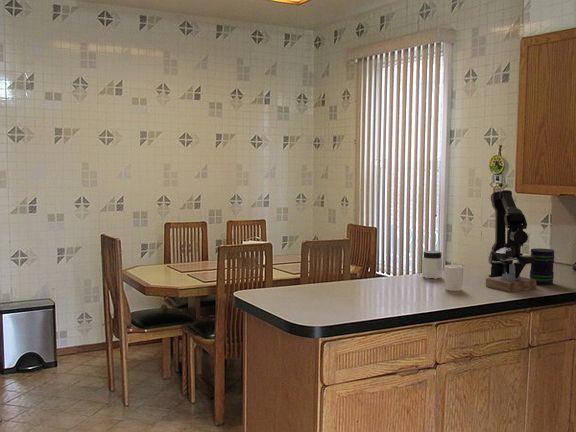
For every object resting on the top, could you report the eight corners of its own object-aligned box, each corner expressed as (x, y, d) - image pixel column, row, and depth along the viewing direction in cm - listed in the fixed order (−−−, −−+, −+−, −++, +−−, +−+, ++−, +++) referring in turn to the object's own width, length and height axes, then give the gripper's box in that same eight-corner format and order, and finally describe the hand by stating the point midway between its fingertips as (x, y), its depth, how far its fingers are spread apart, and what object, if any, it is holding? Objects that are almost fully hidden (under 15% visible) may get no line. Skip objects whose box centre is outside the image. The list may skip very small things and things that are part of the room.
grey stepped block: (512, 279, 272) (512, 263, 271) (519, 281, 268) (519, 265, 267) (502, 281, 269) (502, 264, 268) (509, 282, 265) (509, 266, 265)
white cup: (441, 290, 262) (442, 266, 261) (446, 287, 269) (446, 264, 268) (460, 292, 259) (461, 268, 258) (464, 288, 266) (465, 265, 265)
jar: (434, 279, 286) (434, 253, 285) (419, 277, 292) (419, 251, 291) (444, 277, 292) (445, 251, 291) (429, 275, 298) (430, 250, 297)
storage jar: (549, 281, 282) (550, 248, 281) (556, 285, 272) (557, 251, 271) (526, 281, 283) (527, 248, 282) (532, 285, 273) (534, 251, 272)
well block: (512, 283, 278) (512, 275, 278) (536, 288, 267) (536, 279, 266) (485, 286, 271) (485, 278, 270) (509, 292, 259) (509, 283, 259)
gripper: (483, 240, 272) (482, 275, 273) (517, 245, 255) (516, 282, 257) (502, 238, 277) (501, 273, 278) (536, 243, 261) (535, 280, 262)
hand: (512, 277), depth 269 cm, fingers closed on grey stepped block, 4 cm apart
